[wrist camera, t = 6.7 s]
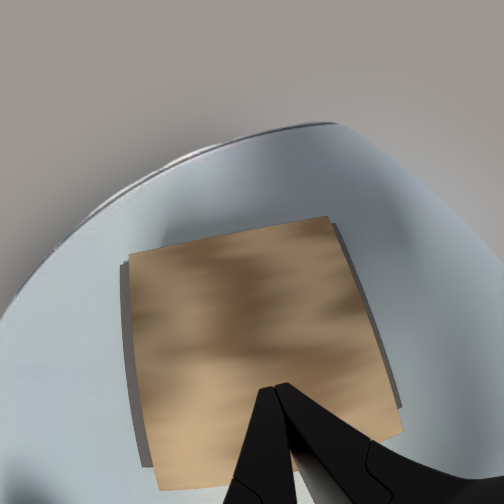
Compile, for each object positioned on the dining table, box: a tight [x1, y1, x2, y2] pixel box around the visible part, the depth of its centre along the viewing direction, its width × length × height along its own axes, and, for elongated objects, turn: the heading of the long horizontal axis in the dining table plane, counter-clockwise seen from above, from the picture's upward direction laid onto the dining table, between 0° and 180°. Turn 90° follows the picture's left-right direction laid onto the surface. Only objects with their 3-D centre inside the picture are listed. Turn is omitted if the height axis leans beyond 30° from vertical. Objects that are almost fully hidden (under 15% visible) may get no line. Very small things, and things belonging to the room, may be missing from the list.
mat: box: [120, 223, 402, 467], centre depth 17 cm, size 15×13×1 cm
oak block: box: [129, 216, 403, 491], centre depth 14 cm, size 11×4×12 cm
